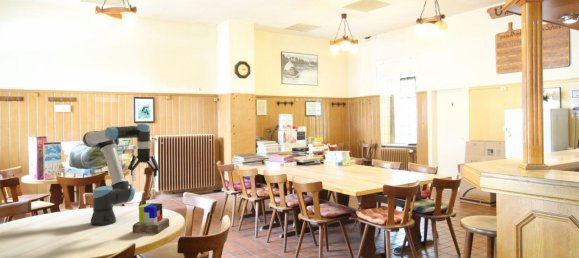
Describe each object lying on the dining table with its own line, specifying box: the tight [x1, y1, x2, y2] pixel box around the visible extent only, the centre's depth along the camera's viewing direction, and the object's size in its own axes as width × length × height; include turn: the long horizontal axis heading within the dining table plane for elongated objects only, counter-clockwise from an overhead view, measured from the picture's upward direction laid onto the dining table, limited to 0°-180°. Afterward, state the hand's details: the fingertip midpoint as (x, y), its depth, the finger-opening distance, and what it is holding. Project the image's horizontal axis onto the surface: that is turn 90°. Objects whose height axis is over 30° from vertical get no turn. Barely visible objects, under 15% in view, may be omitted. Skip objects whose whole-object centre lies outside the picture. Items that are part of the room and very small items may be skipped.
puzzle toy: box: [138, 202, 164, 224], centre depth 247 cm, size 10×10×10 cm
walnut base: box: [132, 217, 170, 234], centre depth 247 cm, size 16×16×5 cm
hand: (143, 181), depth 256 cm, fingers open, 13 cm apart
